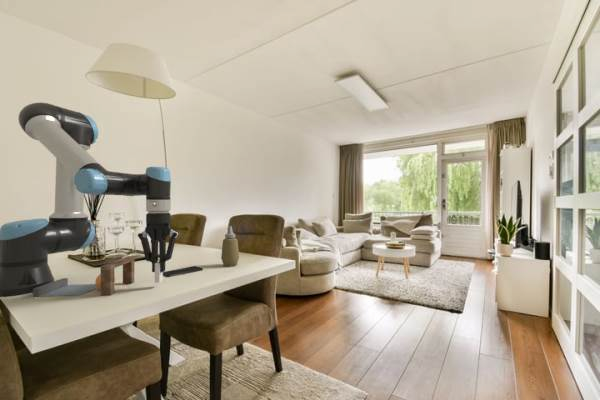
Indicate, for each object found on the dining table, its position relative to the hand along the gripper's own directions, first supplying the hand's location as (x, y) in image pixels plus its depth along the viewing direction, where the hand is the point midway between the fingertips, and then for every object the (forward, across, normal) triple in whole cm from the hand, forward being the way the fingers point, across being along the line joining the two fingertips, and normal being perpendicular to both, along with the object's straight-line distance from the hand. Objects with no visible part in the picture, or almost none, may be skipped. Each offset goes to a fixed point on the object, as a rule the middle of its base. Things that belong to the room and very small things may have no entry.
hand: (158, 281), depth 95 cm
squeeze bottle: (+2, +19, +31) cm, 36 cm away
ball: (-1, -17, 0) cm, 17 cm away
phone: (+3, +1, +21) cm, 21 cm away
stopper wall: (+2, -34, 0) cm, 34 cm away
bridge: (+2, -13, 0) cm, 13 cm away
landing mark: (+2, -27, 0) cm, 27 cm away
